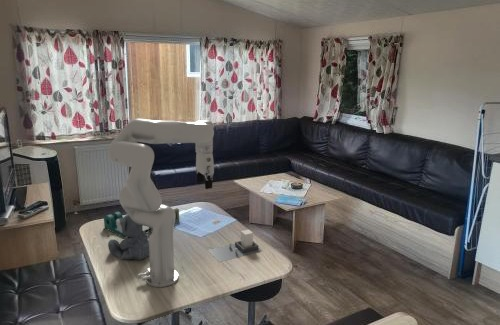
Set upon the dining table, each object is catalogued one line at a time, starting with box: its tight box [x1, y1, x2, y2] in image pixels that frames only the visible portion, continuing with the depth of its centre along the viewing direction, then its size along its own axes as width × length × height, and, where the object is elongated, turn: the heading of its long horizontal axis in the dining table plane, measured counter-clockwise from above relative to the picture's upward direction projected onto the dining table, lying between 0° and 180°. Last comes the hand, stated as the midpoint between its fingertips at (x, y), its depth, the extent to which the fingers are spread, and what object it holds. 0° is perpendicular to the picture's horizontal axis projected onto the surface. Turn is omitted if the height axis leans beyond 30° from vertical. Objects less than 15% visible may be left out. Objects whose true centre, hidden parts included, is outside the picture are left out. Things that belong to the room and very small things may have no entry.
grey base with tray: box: [207, 240, 263, 263], centre depth 179 cm, size 22×12×4 cm, turn 120°
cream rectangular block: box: [240, 229, 254, 248], centre depth 181 cm, size 4×4×8 cm
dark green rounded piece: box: [103, 211, 126, 238], centre depth 197 cm, size 18×7×8 cm, turn 53°
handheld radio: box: [143, 208, 180, 233], centre depth 203 cm, size 7×3×25 cm
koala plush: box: [107, 214, 149, 261], centre depth 173 cm, size 17×18×20 cm
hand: (204, 185), depth 176 cm, fingers open, 9 cm apart
